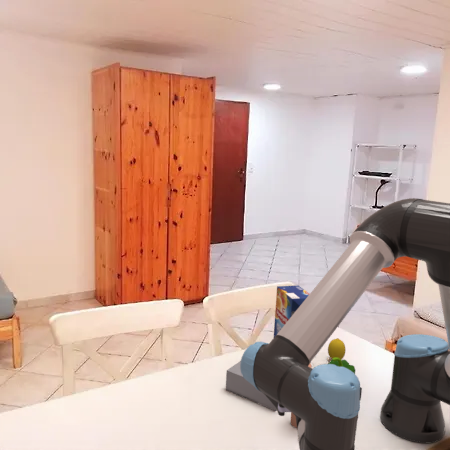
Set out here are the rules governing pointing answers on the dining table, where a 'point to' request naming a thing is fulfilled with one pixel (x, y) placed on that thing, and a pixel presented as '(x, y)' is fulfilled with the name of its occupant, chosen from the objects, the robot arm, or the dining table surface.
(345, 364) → the bell pepper
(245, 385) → the hole block
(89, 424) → the dining table surface
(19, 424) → the dining table surface
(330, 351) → the lemon
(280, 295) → the juice carton
